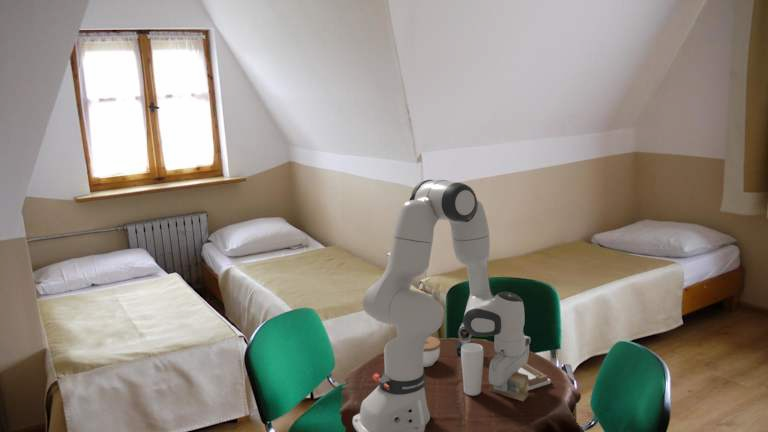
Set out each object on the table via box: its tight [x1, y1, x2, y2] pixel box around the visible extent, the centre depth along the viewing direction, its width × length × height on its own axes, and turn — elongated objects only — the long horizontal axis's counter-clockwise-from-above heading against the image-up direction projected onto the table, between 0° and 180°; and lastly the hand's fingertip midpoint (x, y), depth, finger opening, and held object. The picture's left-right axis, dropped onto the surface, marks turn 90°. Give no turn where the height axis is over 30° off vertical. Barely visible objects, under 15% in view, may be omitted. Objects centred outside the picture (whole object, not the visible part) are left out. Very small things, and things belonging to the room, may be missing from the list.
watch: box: [456, 322, 473, 357], centre depth 216 cm, size 6×8×11 cm
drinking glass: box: [460, 342, 484, 397], centre depth 188 cm, size 7×7×15 cm
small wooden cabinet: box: [518, 363, 552, 391], centre depth 198 cm, size 10×16×4 cm, turn 27°
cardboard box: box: [489, 372, 529, 402], centre depth 187 cm, size 4×11×7 cm, turn 52°
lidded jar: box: [423, 335, 441, 368], centre depth 210 cm, size 11×11×9 cm
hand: (508, 386), depth 187 cm, fingers closed on cardboard box, 4 cm apart
